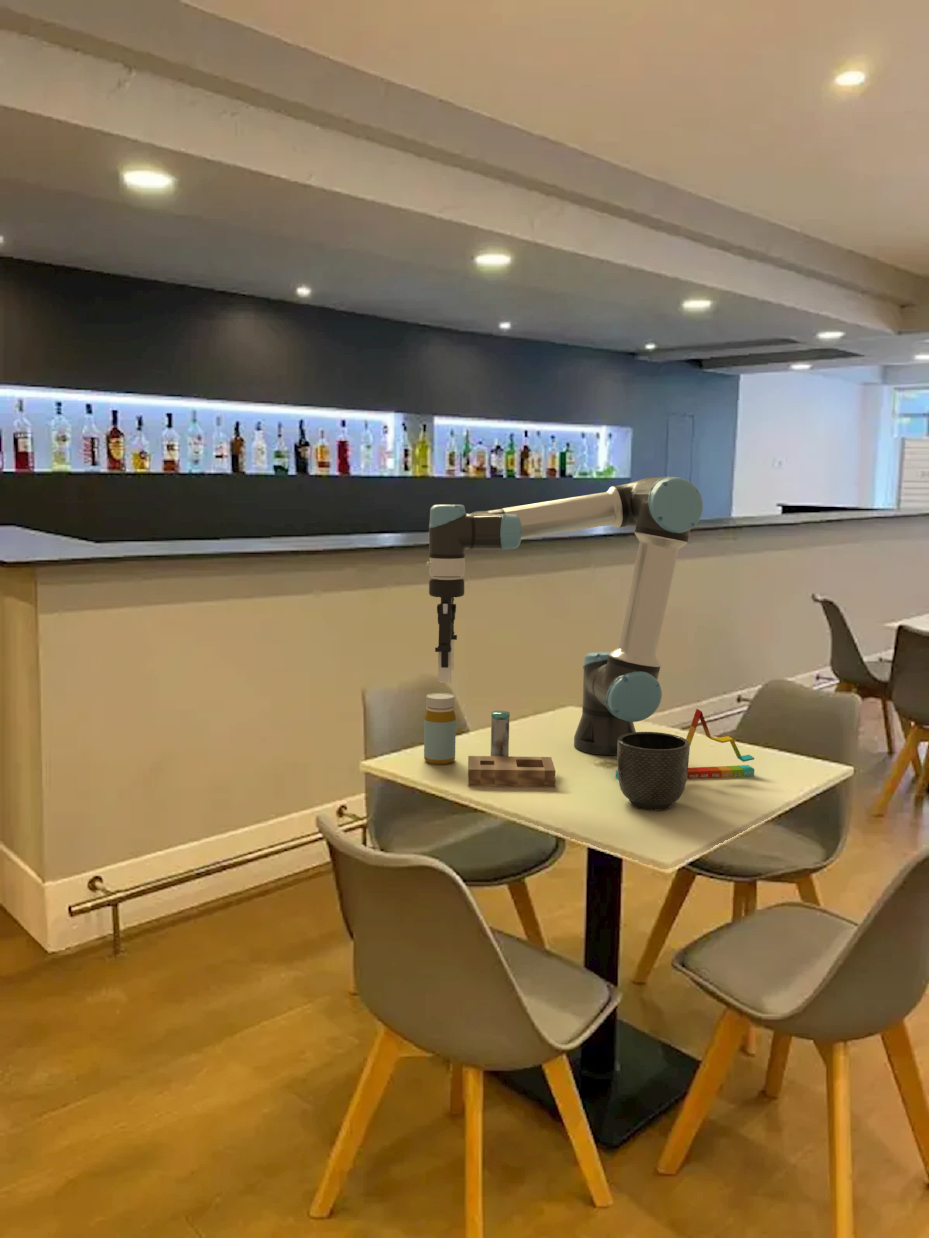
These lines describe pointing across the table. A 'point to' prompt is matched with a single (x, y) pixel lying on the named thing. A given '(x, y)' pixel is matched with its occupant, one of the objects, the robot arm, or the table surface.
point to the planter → (652, 768)
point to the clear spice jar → (500, 733)
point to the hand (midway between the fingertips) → (446, 675)
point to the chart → (719, 770)
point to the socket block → (511, 771)
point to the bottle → (439, 729)
